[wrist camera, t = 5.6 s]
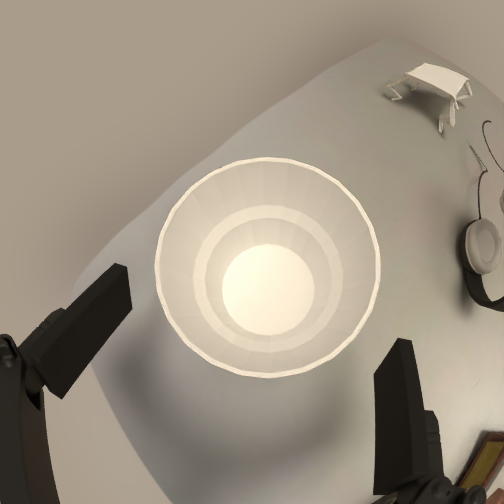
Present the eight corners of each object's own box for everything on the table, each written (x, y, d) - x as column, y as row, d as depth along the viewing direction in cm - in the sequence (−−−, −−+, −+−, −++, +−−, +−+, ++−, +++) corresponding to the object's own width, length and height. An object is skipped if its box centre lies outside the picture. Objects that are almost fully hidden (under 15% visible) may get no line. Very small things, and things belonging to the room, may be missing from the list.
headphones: (470, 165, 27) (486, 328, 19) (442, 152, 28) (453, 320, 19) (507, 108, 18) (567, 287, 10) (477, 89, 19) (537, 272, 10)
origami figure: (428, 147, 25) (448, 119, 20) (378, 93, 27) (390, 62, 22) (477, 121, 26) (495, 99, 21) (435, 76, 28) (447, 52, 23)
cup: (355, 320, 21) (415, 309, 11) (234, 377, 20) (207, 411, 11) (298, 208, 24) (313, 132, 14) (184, 258, 23) (131, 210, 14)
